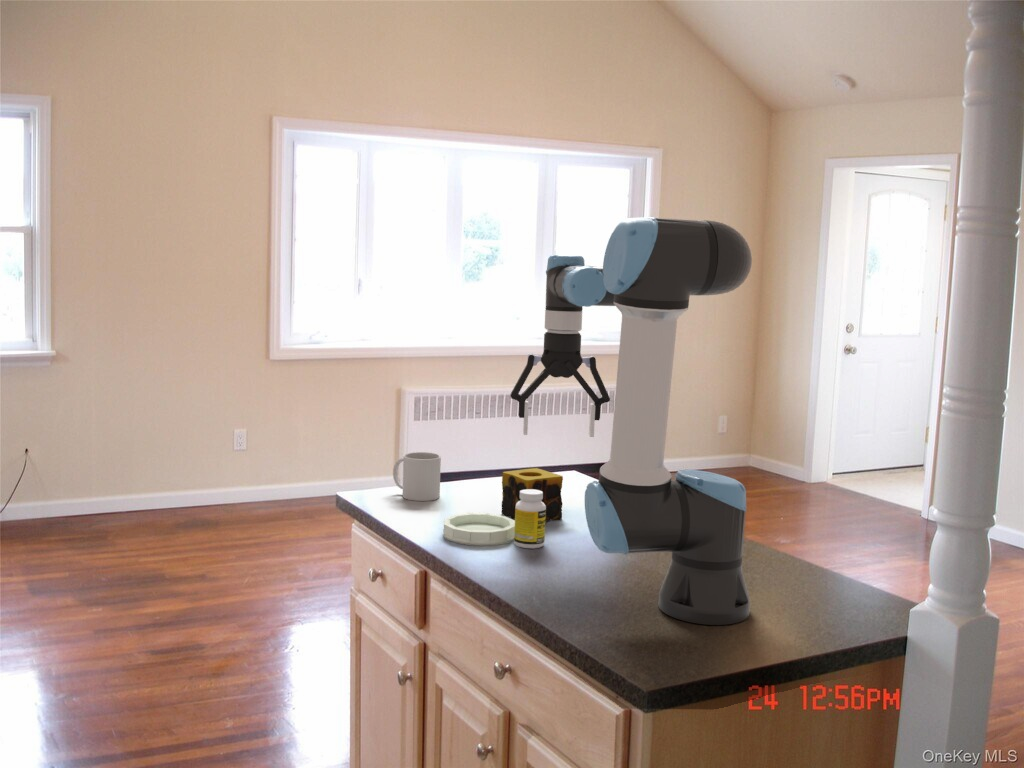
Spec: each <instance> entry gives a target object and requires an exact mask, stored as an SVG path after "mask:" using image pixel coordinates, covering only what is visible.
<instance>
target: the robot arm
mask: <svg viewBox="0 0 1024 768" xmlns="http://www.w3.org/2000/svg"><path fill="white" fill-rule="evenodd" d="M752 261H753V258H752V253H751V249H750V246H749V244H748V242H747V241H746V239H745V237H744V236H743V235H742V234H741V233H740V232H739V231H738V230H737V229H735V228H734V227H731V226H730V225H727V224H726V223H723V222H719V221H715V220H705V219H704V220H698V219H697V220H696V219H681V218H680V219H678V218H662V217H653V216H650V217H648V216H647V217H631V218H630V217H629V218H626V219H624V220H622V221H621V222H619V223H618V224H617V225H616V227H615V228H614V230H613V232H612V233H611V235H610V237H609V238H608V242H607V245H606V247H605V251H604V257H603V262H602V266H591V265H585V259H584V256H581V255H569V254H568V255H567V254H566V255H565V254H552V255H549V257H548V259H547V266H546V270H545V274H546V278H545V279H546V283H545V285H546V287H545V307H544V308H545V310H544V329H545V330H547V331H546V332H545V333H544V334H543V352H542V355H536V354H534V353H529V354H528V355H527V361H526V365H525V366H524V369H523V371H522V373H521V374H520V376H519V378H518V379H517V382H516V383H515V385H514V386H513V388H512V390H511V392H510V399H512V400H515V401H517V402H518V417H519V418H520V419H522V418H523V429H522V430H523V431H522V432H523V435H524V436H527V435H528V432H529V431H528V430H529V427H528V426H529V425H528V424H529V405H530V404H529V403H530V402H529V401H527V399H529V397H530V396H531V395H532V394H533V393H534V392H535V391H536V390H537V389H538V388H539V387H540V386H541V385H542V383H543V382H544V381H545V380H546V379H547V378H548V377H549V376H551V377H552V378H565V379H570V378H571V377H572V376H573V377H574V378H575V379H576V381H578V383H579V384H580V386H581V387H582V388H583V390H584V391H585V393H586V394H587V395H588V396H589V398H590V399H591V400H592V401H593V402H594V403H592V402H591V403H589V404H590V405H589V406H590V407H589V408H590V409H589V426H588V427H589V428H588V435H589V437H590V438H594V437H595V423H596V421H600V419H601V407H602V405H603V404H606V403H609V402H610V401H611V398H610V396H609V393H608V390H607V389H606V387H605V384H604V382H603V380H602V377H601V375H600V372H599V371H598V368H597V361H596V357H595V356H593V355H589V356H585V357H584V356H583V357H582V354H581V350H582V335H581V333H580V331H581V330H582V327H583V307H585V308H587V307H592V306H595V307H600V306H601V307H607V306H608V307H616V309H618V311H620V313H621V323H620V324H621V325H620V326H621V327H620V336H619V337H620V338H619V349H618V358H617V359H618V362H617V373H616V384H615V395H614V406H613V409H614V410H613V420H612V432H611V441H610V442H611V445H610V452H609V453H610V455H609V459H608V461H606V462H605V463H604V464H603V465H602V466H600V468H599V472H598V473H599V475H598V481H597V480H594V481H592V482H589V483H588V484H587V486H586V489H585V491H584V513H585V519H586V523H587V527H588V531H589V534H590V537H591V539H592V542H593V544H594V545H595V546H596V547H597V548H598V550H600V551H601V552H602V553H605V554H622V555H626V556H627V555H629V554H630V555H631V554H647V553H650V554H652V553H668V552H669V553H670V552H671V559H670V560H671V561H670V564H669V567H668V569H667V572H666V573H665V577H664V578H663V582H662V583H661V587H660V589H659V592H658V603H657V605H658V609H659V610H660V611H661V612H662V613H664V614H666V615H668V616H669V617H671V618H674V619H677V620H678V621H679V620H680V621H683V622H687V623H691V624H698V625H706V626H707V625H709V626H723V625H734V624H739V623H741V622H743V621H745V620H747V619H748V618H749V616H750V609H751V608H750V607H751V600H750V596H749V591H748V588H747V583H746V581H745V576H744V573H743V556H744V555H743V553H744V540H745V538H744V537H745V527H746V526H745V525H746V513H747V511H748V508H747V490H746V487H745V486H744V484H743V483H741V482H740V481H738V480H737V479H735V478H732V477H729V476H726V475H723V474H720V473H719V474H718V473H715V472H710V471H704V470H698V469H679V470H678V471H677V472H676V474H675V476H674V479H675V480H672V473H671V472H670V471H669V470H668V469H667V467H666V466H665V465H664V461H665V460H664V459H665V449H666V441H667V429H668V419H669V418H668V417H669V410H670V409H669V407H670V397H671V388H672V378H673V370H674V369H673V367H674V359H675V345H676V337H677V335H676V334H677V328H678V326H677V324H678V319H679V318H680V317H681V316H682V315H684V313H685V312H687V311H688V310H689V304H690V296H717V295H723V294H727V293H730V292H733V291H735V290H737V288H740V286H741V285H743V284H744V282H745V281H746V279H747V277H748V276H749V274H750V273H751V268H752ZM539 362H541V364H542V365H543V367H544V369H543V370H542V371H541V372H540V373H539V374H538V376H537V377H536V378H535V379H534V380H533V381H532V382H531V383H530V384H529V385H528V387H527V388H525V390H524V391H523V392H522V393H521V394H520V391H522V388H523V386H524V384H525V383H526V381H527V379H528V377H529V375H530V373H531V372H532V369H533V367H534V366H537V365H538V363H539ZM582 364H585V367H587V368H589V370H590V373H591V375H592V377H593V380H594V382H595V384H596V386H597V388H598V391H599V393H600V395H601V396H598V395H597V393H596V392H595V391H594V390H593V388H592V387H591V386H590V385H589V384H588V383H587V381H586V380H585V379H584V377H583V376H582V375H581V373H580V372H579V371H578V369H579V368H580V367H581V366H582Z"/></svg>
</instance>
